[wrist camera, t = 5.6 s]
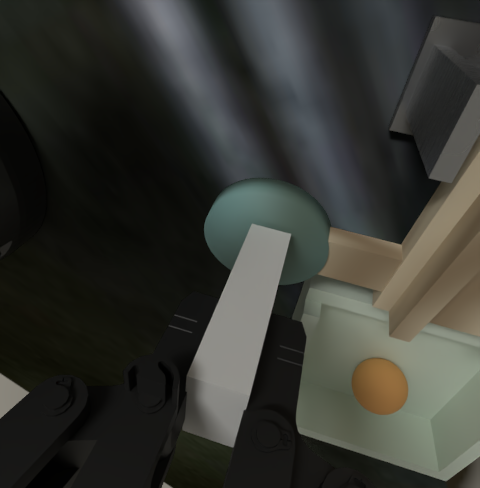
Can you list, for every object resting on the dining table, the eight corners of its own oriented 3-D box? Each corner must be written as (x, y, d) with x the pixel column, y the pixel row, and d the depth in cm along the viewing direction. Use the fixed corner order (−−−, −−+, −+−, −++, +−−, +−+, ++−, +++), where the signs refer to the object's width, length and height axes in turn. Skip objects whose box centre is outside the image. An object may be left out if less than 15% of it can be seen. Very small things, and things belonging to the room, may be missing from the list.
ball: (365, 349, 21) (350, 353, 24) (356, 406, 20) (341, 404, 23) (420, 365, 21) (398, 368, 24) (414, 424, 20) (392, 419, 23)
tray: (273, 370, 27) (263, 421, 24) (315, 250, 20) (307, 301, 17) (435, 420, 26) (445, 481, 23) (545, 311, 18) (583, 379, 15)
